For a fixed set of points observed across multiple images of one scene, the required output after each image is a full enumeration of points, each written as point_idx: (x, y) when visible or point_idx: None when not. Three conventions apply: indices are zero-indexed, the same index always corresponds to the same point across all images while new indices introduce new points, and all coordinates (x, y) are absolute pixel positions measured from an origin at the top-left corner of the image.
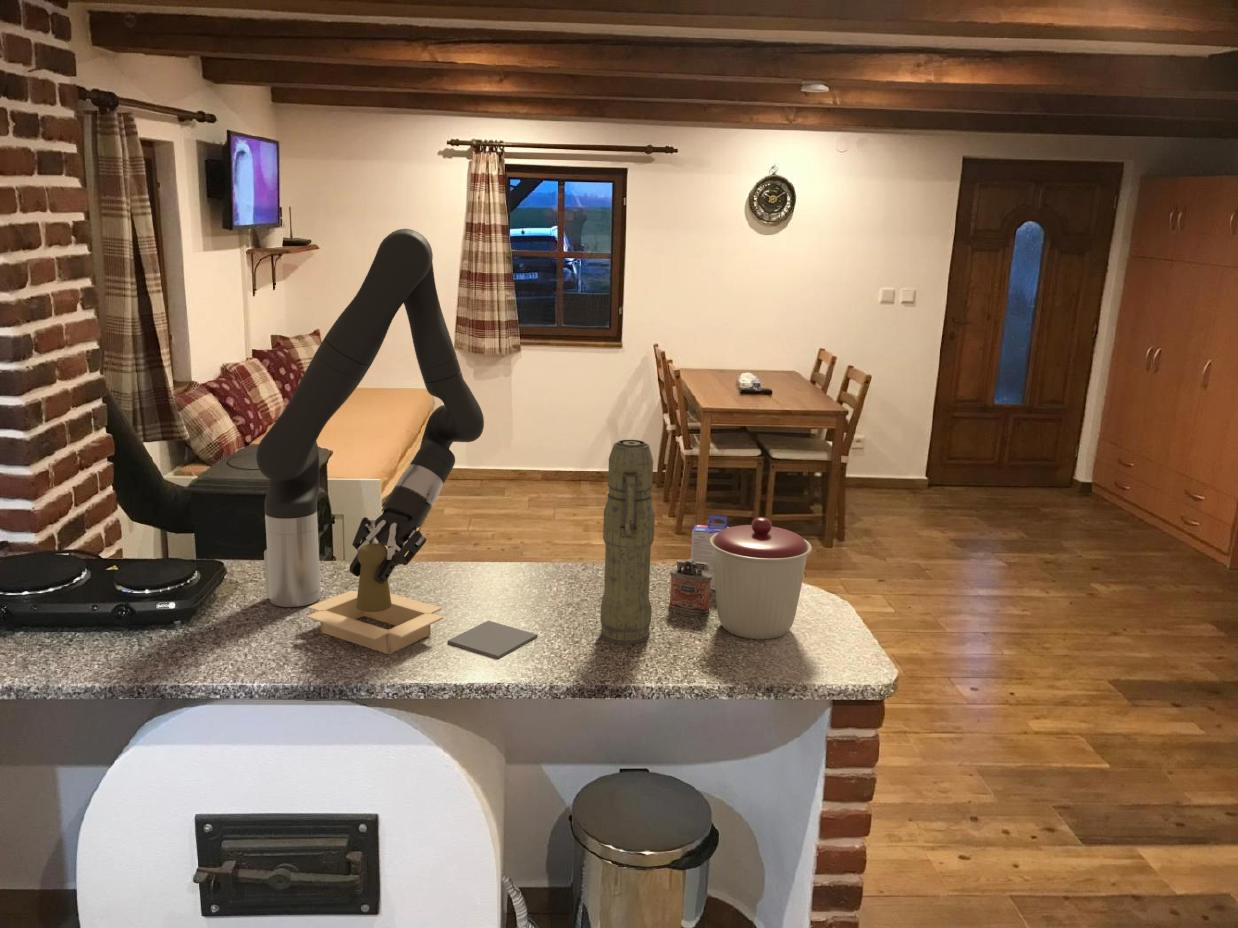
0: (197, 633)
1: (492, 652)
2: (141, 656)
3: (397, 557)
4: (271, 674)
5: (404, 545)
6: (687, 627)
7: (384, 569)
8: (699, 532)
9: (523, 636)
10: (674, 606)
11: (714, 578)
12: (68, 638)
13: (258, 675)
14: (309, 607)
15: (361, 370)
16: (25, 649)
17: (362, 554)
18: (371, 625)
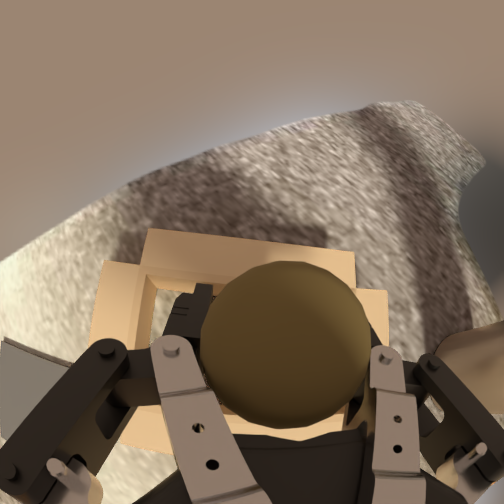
0: (439, 211)
1: (10, 350)
2: (415, 149)
3: (113, 344)
4: (271, 151)
5: (82, 406)
6: None
7: (182, 316)
8: None
9: (8, 425)
10: None
11: None
12: (472, 165)
13: (283, 144)
14: (383, 290)
15: None
16: (465, 143)
17: (296, 261)
18: (195, 277)
